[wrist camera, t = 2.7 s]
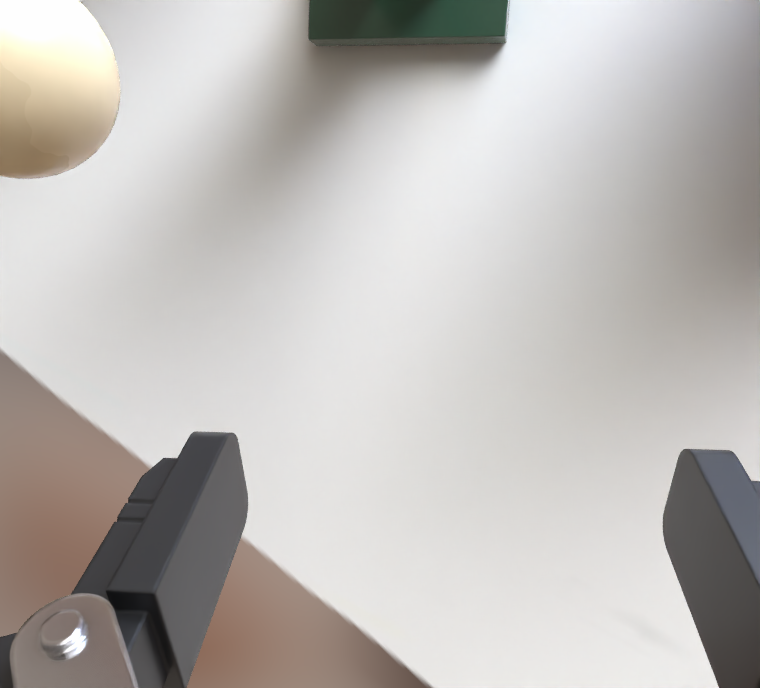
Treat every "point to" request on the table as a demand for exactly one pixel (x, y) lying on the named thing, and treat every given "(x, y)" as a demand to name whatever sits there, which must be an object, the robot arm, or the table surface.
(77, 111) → the lever
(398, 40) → the green upright stand
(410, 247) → the table surface
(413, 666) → the table surface
